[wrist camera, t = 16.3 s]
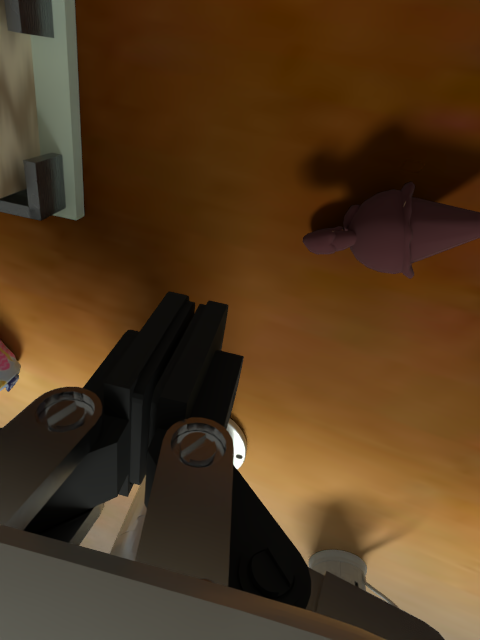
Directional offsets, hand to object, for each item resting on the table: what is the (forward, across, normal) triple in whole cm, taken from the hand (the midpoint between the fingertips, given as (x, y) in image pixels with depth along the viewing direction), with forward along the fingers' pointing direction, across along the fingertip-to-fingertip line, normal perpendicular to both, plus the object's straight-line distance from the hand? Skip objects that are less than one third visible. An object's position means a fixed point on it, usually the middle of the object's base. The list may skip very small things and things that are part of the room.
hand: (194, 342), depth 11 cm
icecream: (+27, -11, +2) cm, 29 cm away
